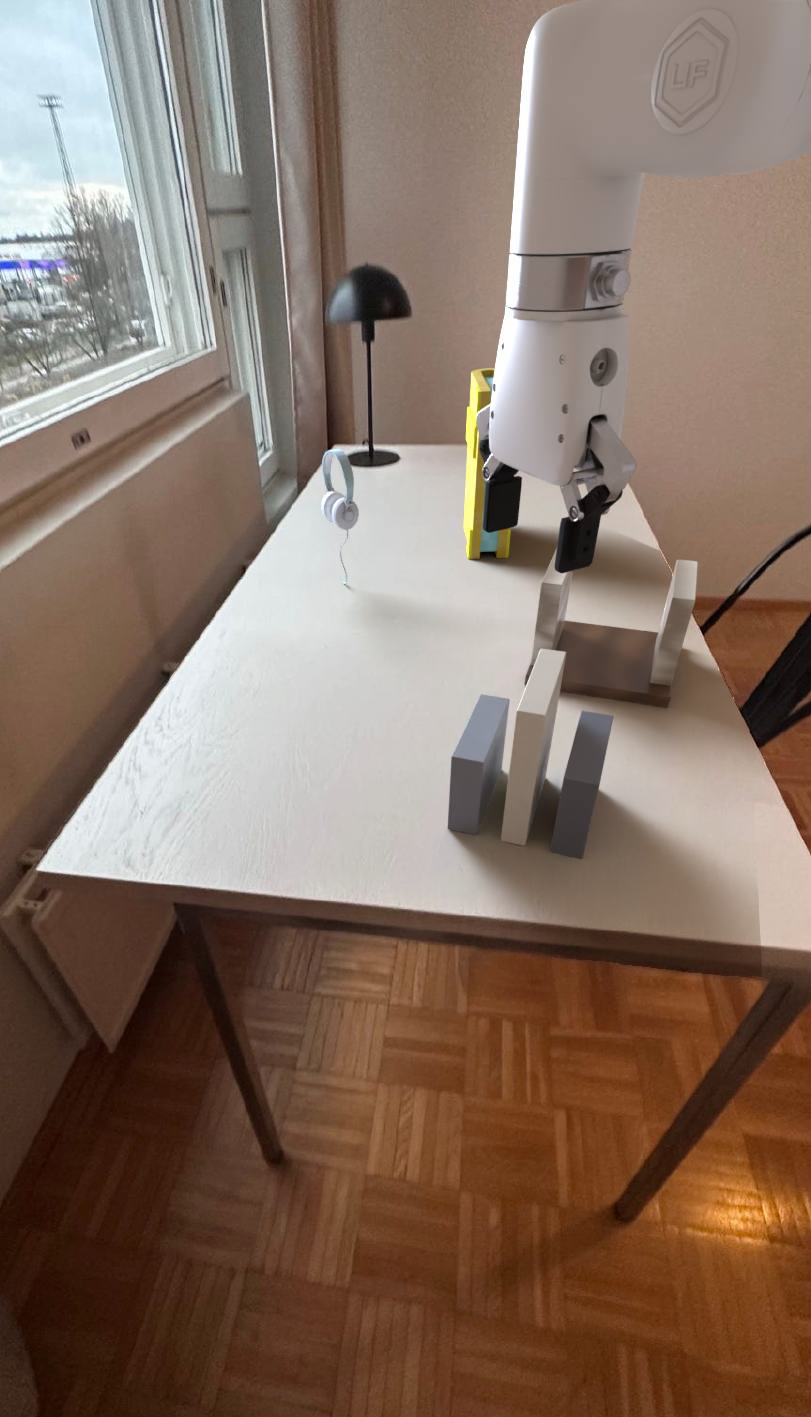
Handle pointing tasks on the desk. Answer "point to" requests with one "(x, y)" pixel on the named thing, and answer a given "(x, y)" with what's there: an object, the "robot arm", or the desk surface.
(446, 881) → the desk surface
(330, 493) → the headphones
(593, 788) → the grey books
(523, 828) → the thin book
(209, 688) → the desk surface
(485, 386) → the book
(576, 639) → the letter rack
